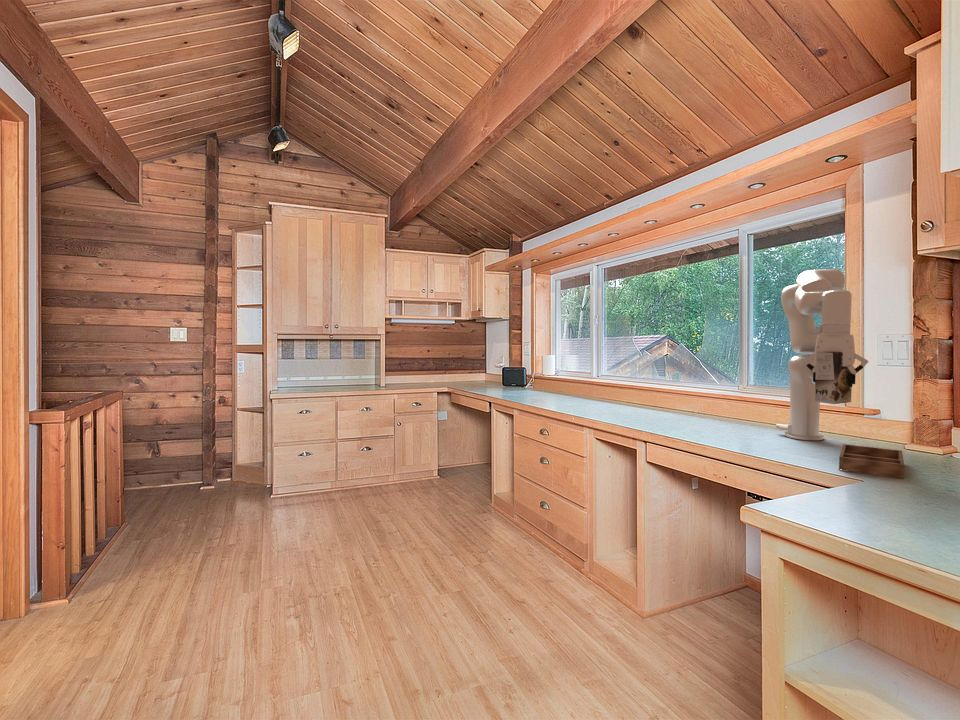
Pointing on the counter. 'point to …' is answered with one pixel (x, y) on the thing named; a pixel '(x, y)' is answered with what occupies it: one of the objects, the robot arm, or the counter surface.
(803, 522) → the counter surface
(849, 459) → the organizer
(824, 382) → the coffee box
